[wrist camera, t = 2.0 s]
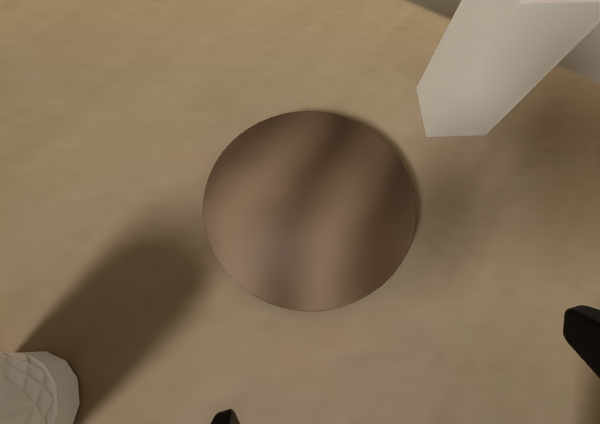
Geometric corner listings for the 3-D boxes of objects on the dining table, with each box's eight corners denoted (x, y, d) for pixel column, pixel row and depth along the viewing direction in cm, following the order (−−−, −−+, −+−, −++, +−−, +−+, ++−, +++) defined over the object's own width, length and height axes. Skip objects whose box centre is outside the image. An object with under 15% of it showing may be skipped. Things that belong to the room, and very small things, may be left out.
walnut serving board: (422, 143, 27) (427, 135, 26) (393, 338, 22) (399, 338, 20) (244, 102, 28) (241, 93, 27) (175, 278, 23) (169, 276, 22)
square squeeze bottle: (471, 87, 29) (609, -98, 16) (485, 135, 27) (651, -30, 15) (416, 88, 29) (511, -97, 16) (426, 137, 27) (542, -28, 14)
